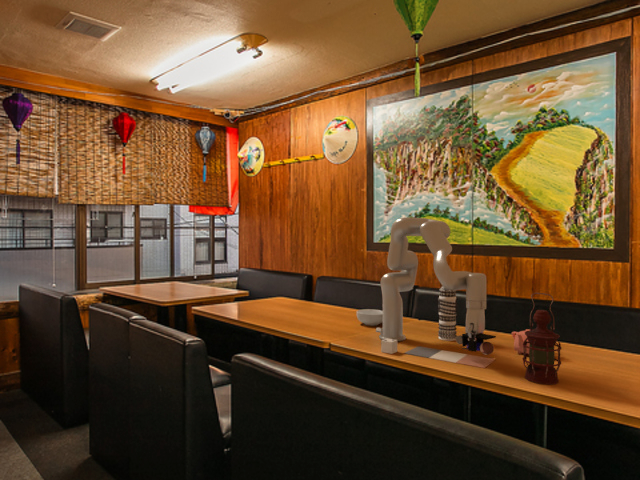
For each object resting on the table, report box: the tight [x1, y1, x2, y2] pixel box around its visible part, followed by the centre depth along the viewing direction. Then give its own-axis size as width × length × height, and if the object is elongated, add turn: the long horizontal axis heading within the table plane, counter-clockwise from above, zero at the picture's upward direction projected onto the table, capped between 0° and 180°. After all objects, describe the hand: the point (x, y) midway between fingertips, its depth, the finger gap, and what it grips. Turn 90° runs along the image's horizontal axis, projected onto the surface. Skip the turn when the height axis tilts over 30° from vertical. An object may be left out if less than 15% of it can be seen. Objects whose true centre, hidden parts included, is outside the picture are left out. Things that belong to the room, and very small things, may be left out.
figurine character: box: [455, 332, 497, 356], centre depth 173 cm, size 7×8×15 cm
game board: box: [403, 345, 496, 369], centre depth 180 cm, size 33×14×1 cm, turn 53°
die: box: [380, 338, 398, 355], centre depth 188 cm, size 5×5×5 cm
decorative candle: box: [437, 286, 459, 342], centre depth 211 cm, size 9×9×25 cm
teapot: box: [511, 328, 531, 355], centre depth 185 cm, size 14×12×10 cm
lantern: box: [522, 292, 563, 386], centre depth 152 cm, size 12×12×30 cm
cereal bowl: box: [356, 308, 383, 327], centre depth 245 cm, size 17×17×7 cm
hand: (475, 348), depth 173 cm, fingers closed on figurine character, 7 cm apart
